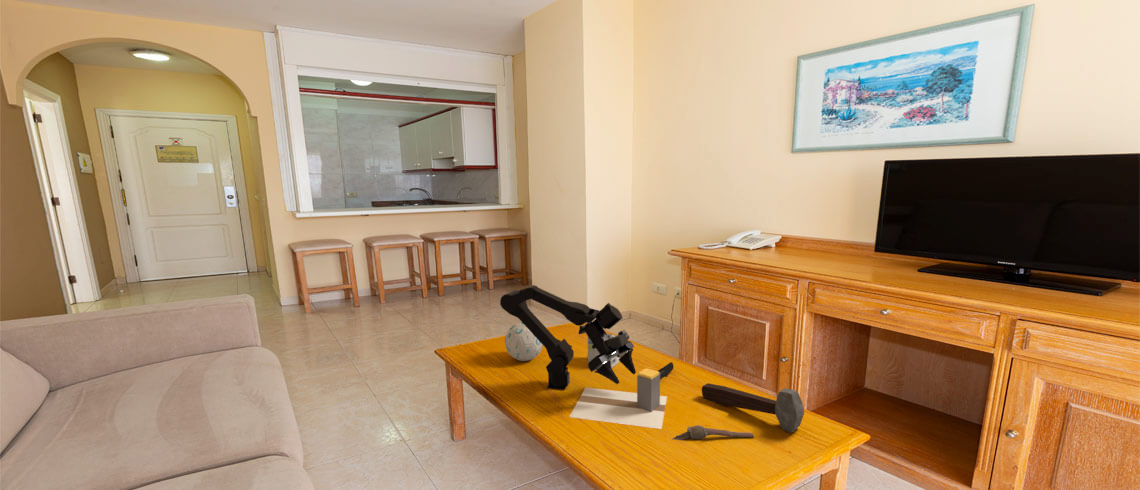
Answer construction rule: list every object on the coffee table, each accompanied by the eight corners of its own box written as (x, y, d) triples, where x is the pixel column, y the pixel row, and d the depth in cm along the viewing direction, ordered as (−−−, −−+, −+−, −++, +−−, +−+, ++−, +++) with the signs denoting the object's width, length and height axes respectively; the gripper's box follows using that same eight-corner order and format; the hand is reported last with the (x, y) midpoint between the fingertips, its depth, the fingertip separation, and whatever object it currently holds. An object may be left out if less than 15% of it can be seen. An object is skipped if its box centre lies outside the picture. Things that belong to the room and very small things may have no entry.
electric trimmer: (676, 371, 171) (676, 363, 170) (657, 385, 159) (657, 377, 158) (667, 368, 173) (667, 360, 173) (647, 383, 161) (647, 374, 161)
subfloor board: (569, 419, 137) (569, 416, 137) (585, 389, 156) (585, 387, 156) (661, 431, 130) (661, 428, 130) (667, 398, 149) (667, 396, 149)
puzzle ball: (523, 349, 194) (522, 315, 192) (551, 357, 185) (550, 321, 183) (497, 361, 182) (496, 324, 180) (526, 370, 173) (525, 331, 171)
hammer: (701, 410, 148) (798, 436, 126) (698, 376, 148) (794, 395, 125) (709, 405, 151) (805, 429, 129) (706, 372, 151) (802, 390, 128)
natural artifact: (671, 443, 126) (668, 427, 128) (753, 438, 127) (749, 422, 128) (673, 442, 123) (671, 426, 125) (758, 436, 123) (754, 420, 125)
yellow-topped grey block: (637, 406, 142) (637, 372, 141) (645, 400, 146) (645, 367, 144) (651, 412, 139) (651, 377, 137) (659, 405, 143) (660, 371, 141)
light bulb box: (619, 362, 179) (619, 335, 177) (611, 368, 173) (611, 341, 172) (595, 357, 184) (595, 331, 183) (587, 363, 179) (586, 336, 177)
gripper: (595, 331, 141) (625, 376, 135) (629, 317, 155) (658, 356, 149) (575, 350, 147) (603, 393, 141) (610, 335, 161) (637, 373, 155)
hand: (626, 378), depth 147 cm, fingers open, 9 cm apart
